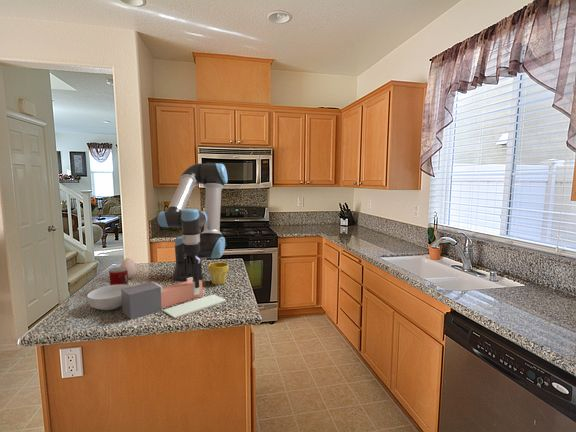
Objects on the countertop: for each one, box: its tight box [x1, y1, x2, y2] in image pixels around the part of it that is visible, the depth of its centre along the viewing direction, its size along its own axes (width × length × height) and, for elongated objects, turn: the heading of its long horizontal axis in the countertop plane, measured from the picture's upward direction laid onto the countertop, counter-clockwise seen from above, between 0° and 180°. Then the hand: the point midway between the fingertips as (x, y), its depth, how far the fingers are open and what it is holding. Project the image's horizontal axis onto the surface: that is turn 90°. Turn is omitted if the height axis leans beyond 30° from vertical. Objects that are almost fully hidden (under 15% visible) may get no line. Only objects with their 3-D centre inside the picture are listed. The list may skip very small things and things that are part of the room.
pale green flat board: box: [162, 294, 227, 319], centre depth 132 cm, size 24×10×1 cm, turn 136°
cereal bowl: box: [86, 284, 133, 311], centre depth 132 cm, size 17×17×7 cm
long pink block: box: [161, 280, 204, 309], centre depth 138 cm, size 20×5×7 cm, turn 135°
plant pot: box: [207, 261, 229, 286], centre depth 162 cm, size 10×10×10 cm
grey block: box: [121, 281, 164, 320], centre depth 127 cm, size 13×10×10 cm
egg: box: [119, 257, 137, 280], centre depth 169 cm, size 8×8×11 cm
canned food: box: [108, 266, 129, 286], centre depth 150 cm, size 8×8×11 cm
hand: (193, 292), depth 143 cm, fingers closed on long pink block, 5 cm apart
